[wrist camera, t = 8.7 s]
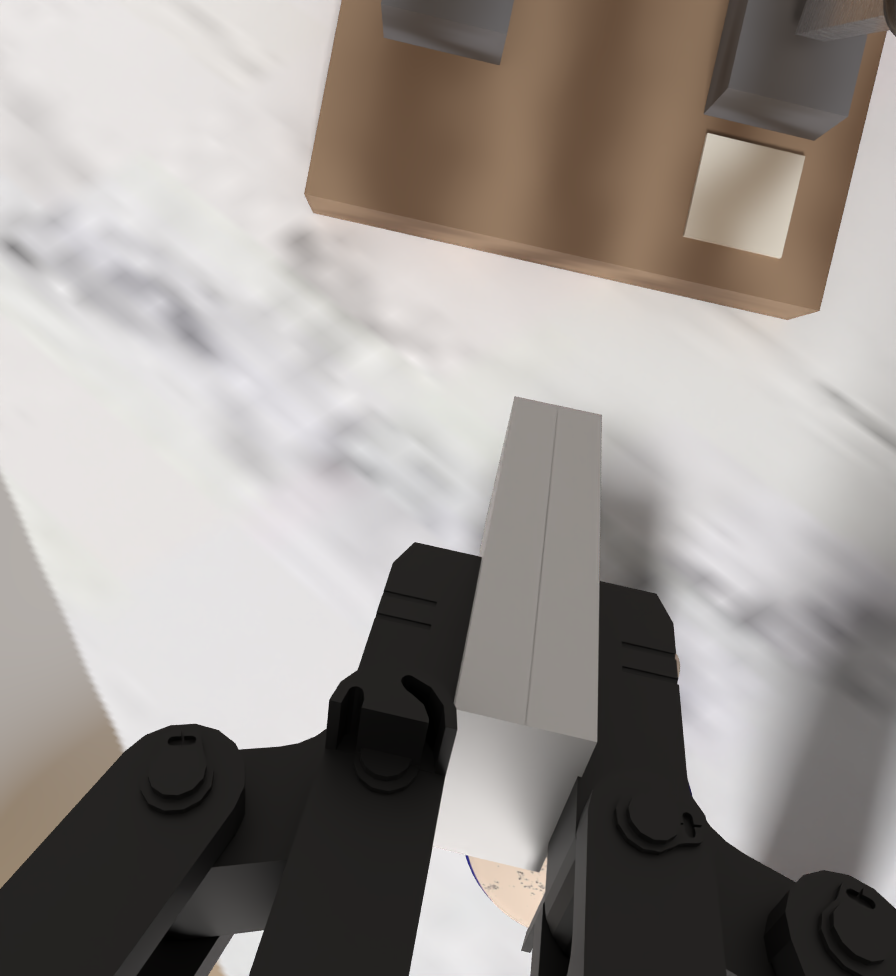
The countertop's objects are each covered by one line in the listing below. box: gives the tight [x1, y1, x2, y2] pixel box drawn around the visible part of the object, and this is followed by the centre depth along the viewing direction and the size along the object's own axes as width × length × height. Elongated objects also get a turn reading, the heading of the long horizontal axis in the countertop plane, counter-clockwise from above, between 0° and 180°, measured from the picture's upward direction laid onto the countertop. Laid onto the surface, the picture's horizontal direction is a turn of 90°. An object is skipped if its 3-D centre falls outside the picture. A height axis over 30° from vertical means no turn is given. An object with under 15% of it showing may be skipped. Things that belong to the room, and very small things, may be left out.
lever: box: [795, 0, 896, 41], centre depth 26 cm, size 3×3×11 cm
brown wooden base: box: [304, 0, 887, 320], centre depth 34 cm, size 23×20×6 cm
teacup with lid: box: [466, 654, 692, 928], centre depth 33 cm, size 12×9×12 cm
